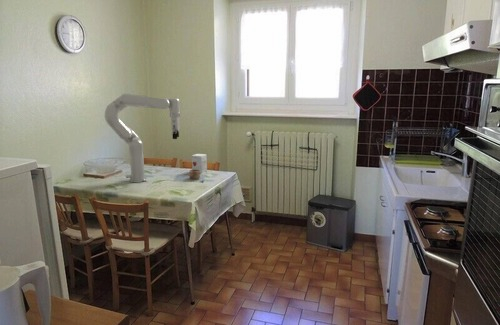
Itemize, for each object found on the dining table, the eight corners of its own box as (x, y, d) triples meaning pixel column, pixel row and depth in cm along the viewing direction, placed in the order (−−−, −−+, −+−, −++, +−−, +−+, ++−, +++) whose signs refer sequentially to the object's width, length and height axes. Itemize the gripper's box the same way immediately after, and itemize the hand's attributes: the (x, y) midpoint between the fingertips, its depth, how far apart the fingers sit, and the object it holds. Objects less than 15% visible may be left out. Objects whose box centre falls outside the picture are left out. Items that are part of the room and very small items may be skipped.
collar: (189, 179, 258) (189, 171, 257) (190, 177, 265) (190, 169, 264) (199, 179, 259) (198, 171, 257) (199, 177, 266) (199, 169, 264)
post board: (173, 182, 255) (172, 174, 253) (176, 176, 272) (176, 168, 271) (203, 182, 256) (203, 174, 255) (205, 176, 273) (204, 168, 272)
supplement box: (192, 173, 280) (191, 155, 277) (197, 171, 289) (197, 153, 285) (201, 174, 277) (201, 156, 274) (207, 172, 285) (206, 154, 282)
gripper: (178, 116, 253) (179, 139, 256) (181, 114, 270) (182, 136, 273) (167, 116, 252) (168, 139, 256) (171, 114, 269) (172, 136, 273)
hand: (175, 138), depth 265 cm, fingers open, 9 cm apart
